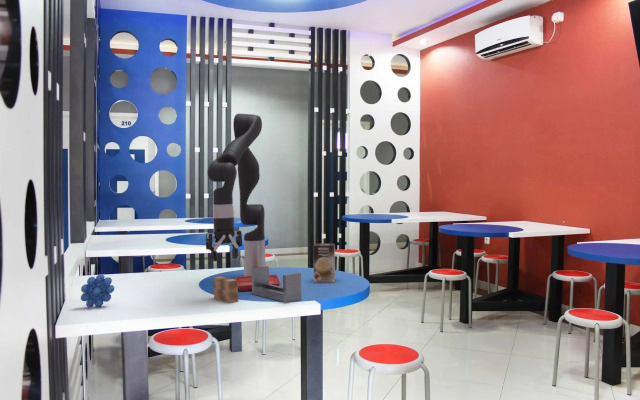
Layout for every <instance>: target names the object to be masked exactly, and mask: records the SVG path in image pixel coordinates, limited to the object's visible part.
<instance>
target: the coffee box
mask: <svg viewBox="0 0 640 400" xmlns="http://www.w3.org/2000/svg"><path fill="white" fill-rule="evenodd" d="M335 281H336V243H314V244H313V283H314V284H315V283H323V284H325V283H326V284H327V283H330V284H331V283H333V284H334V283H335Z"/></svg>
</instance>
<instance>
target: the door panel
mask: <svg viewBox="0 0 640 400" xmlns="http://www.w3.org/2000/svg"><path fill="white" fill-rule="evenodd" d="M213 298H214V299H217V300H220V301H223V302H226V303H229V304H234V303H238V302H239V289H238V283H237V280H235V278H229V277H224V276H222V275H219V276H213Z"/></svg>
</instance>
